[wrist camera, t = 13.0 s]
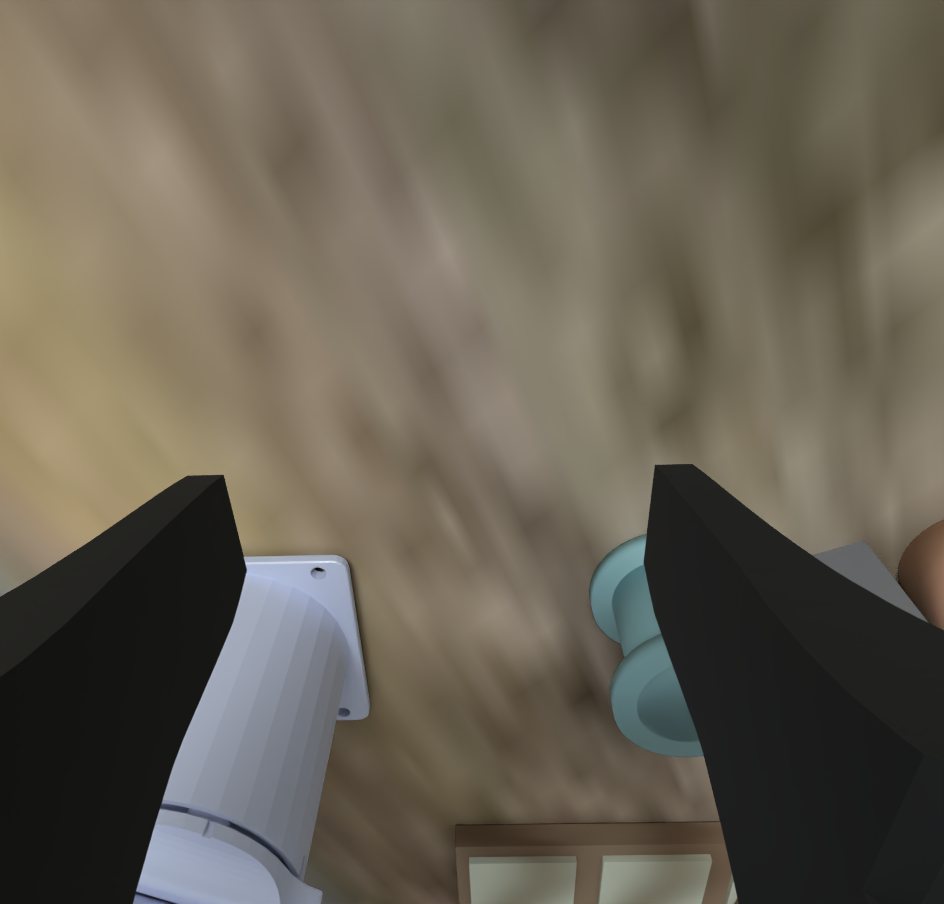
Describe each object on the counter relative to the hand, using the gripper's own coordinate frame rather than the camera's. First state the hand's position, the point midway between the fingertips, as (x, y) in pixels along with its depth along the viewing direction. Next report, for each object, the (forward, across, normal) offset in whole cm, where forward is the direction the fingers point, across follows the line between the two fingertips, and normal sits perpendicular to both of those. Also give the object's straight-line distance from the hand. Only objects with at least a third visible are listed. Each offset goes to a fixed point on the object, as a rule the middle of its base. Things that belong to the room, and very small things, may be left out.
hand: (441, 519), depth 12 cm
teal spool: (+9, -7, +10) cm, 15 cm away
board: (+9, -8, +28) cm, 31 cm away
